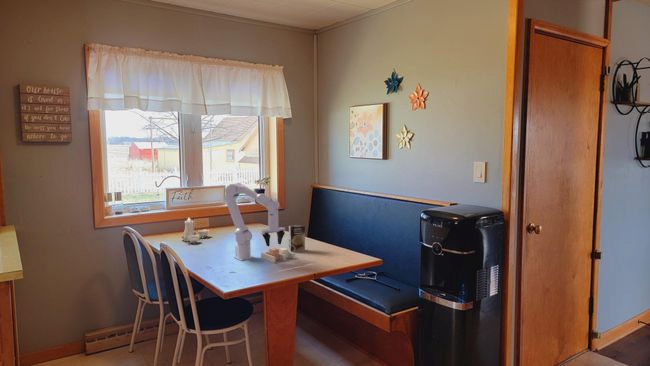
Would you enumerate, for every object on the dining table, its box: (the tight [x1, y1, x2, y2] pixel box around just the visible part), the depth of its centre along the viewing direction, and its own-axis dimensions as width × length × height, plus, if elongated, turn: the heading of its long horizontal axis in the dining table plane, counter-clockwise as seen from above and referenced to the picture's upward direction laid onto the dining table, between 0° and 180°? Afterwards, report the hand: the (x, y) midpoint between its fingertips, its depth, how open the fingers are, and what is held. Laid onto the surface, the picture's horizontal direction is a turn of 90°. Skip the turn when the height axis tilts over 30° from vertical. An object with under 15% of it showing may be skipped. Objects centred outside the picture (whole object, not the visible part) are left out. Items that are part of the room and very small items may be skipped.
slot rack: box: [260, 250, 297, 264], centre depth 250 cm, size 16×15×4 cm
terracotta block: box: [268, 247, 280, 260], centre depth 248 cm, size 4×4×6 cm
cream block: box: [278, 247, 289, 258], centre depth 252 cm, size 4×4×5 cm
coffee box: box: [288, 224, 306, 253], centre depth 268 cm, size 9×6×16 cm
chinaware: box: [181, 217, 210, 244], centre depth 302 cm, size 28×17×17 cm, turn 179°
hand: (273, 245), depth 247 cm, fingers open, 7 cm apart
